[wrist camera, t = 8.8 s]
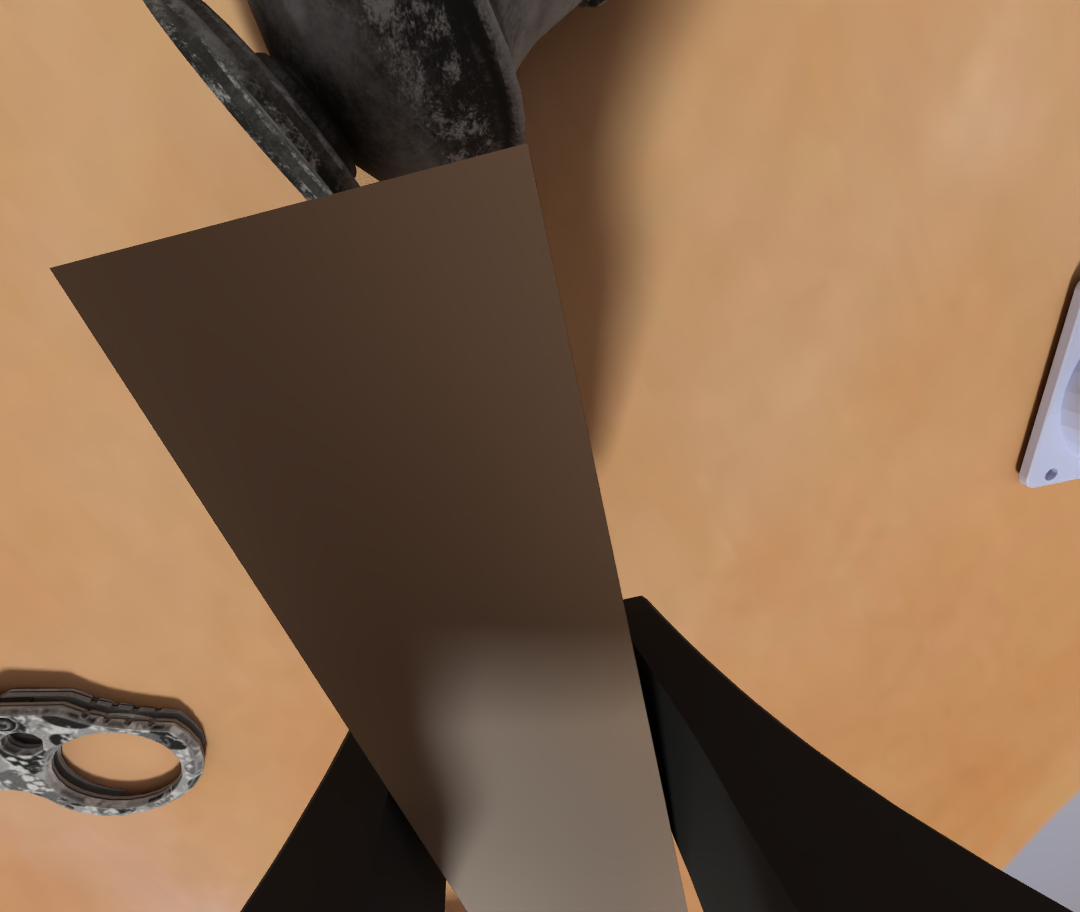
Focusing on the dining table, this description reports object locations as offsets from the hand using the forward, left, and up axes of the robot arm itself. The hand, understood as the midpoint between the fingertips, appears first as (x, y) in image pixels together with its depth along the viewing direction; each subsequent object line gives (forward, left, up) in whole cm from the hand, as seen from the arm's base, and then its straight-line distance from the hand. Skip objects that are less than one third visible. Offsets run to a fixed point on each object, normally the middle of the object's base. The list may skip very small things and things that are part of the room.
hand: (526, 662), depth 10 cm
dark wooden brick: (0, -1, -3) cm, 3 cm away
